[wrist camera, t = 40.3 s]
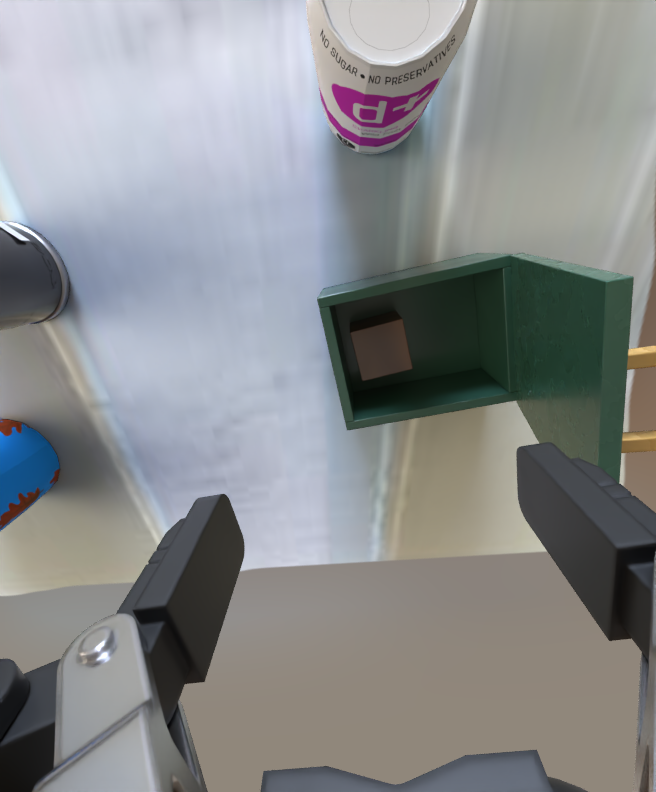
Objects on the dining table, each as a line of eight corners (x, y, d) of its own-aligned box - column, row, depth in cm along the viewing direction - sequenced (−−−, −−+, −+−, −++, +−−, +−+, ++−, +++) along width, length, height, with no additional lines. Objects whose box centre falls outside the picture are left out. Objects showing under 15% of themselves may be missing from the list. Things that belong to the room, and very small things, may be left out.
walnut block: (360, 366, 37) (362, 381, 33) (349, 322, 36) (349, 332, 32) (405, 355, 37) (413, 369, 33) (396, 310, 35) (402, 318, 31)
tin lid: (594, 543, 17) (754, 543, 15) (606, 281, 13) (828, 242, 11) (516, 402, 30) (595, 394, 29) (510, 255, 26) (602, 236, 25)
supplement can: (414, 160, 31) (468, 89, 17) (318, 151, 31) (294, 73, 18) (433, 37, 28) (516, -168, 14) (326, 27, 28) (306, -185, 15)
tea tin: (347, 397, 40) (347, 430, 32) (323, 288, 36) (316, 298, 28) (486, 371, 38) (519, 400, 31) (477, 252, 34) (513, 253, 27)
